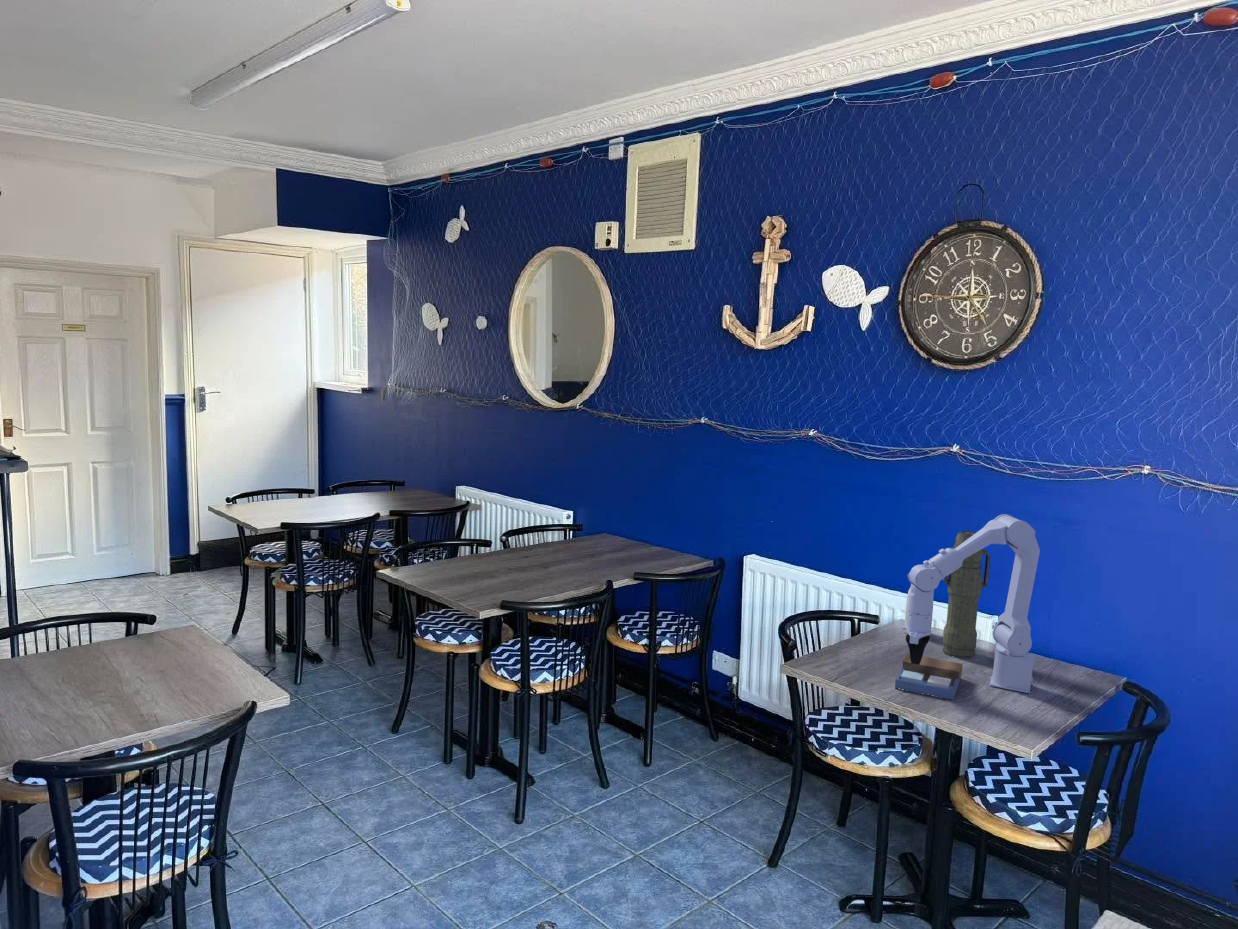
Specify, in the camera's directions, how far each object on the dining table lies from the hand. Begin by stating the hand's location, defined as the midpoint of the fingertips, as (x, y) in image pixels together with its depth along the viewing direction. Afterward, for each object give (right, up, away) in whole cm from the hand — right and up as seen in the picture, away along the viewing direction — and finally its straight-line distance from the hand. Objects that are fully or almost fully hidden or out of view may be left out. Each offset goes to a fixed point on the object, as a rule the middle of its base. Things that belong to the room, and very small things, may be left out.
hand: (915, 663), depth 229 cm
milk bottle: (+14, 0, +41) cm, 43 cm away
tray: (+2, -6, -4) cm, 7 cm away
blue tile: (-2, -2, -3) cm, 4 cm away
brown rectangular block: (+6, -5, +4) cm, 8 cm away
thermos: (+20, -3, +24) cm, 32 cm away
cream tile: (+4, -3, -6) cm, 8 cm away
